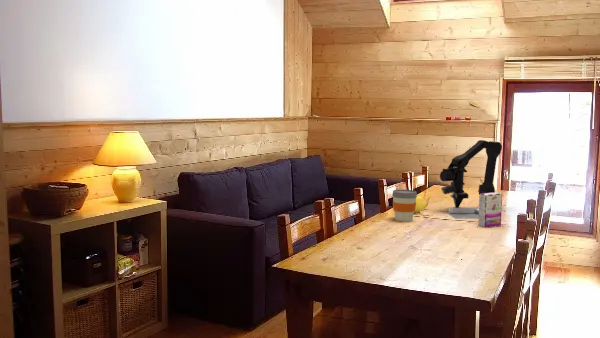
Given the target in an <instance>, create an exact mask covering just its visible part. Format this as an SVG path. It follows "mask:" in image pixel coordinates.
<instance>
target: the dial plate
mask: <svg viewBox="0 0 600 338" xmlns="http://www.w3.org/2000/svg"><path fill="white" fill-rule="evenodd" d="M443 212H444V213H445V214H447V215H449V216H451V217H452V218H454V219H456V220H457V219H458V220H459V219H462V220H463V219H464V220H465V219H466V220H467V219H469V220H471V219H474V220H479V214H478V213H449V210H444V211H443Z"/></svg>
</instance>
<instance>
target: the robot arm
mask: <svg viewBox="0 0 600 338" xmlns="http://www.w3.org/2000/svg"><path fill="white" fill-rule="evenodd" d="M483 149H485V153H486V155H487V158H486V159H487V160H486V163H485V164H486V165H485V171H484V179H483V182H482V184H479V185H478V191H477V192H478V195H479V194H483V193H493V192H496V191H495V190H496V188H495V185H494V178H495V171H496V166H497V159H498V158H499V156H500V155H501V153H502V152H501V151H502V149H503V145H502V143H501V142H499V141H493V140H492V141H490V140H489V141H487V140H483V139H479V140H478V141H476V143H474V144H473V145H472V146H471V147H470V148H468V149H467V150H466V151H465V152H464V153H461V154H458V155H456V156H455V157H453V158H452V159H451V162H450V163H449V165H448V166H447V168H442V171H440V174H439V179H440V181H442V182H450V184H448V185H445V186H442V187H441V191H442V194H444V195H448V194H450V197H451V198H452V200H453V203H454V207H461V206H460V205H461V204H462V202H463V200H464V199H469V193H467V192H465V190H464V186H465V182H464V179H465V178H464V177H465V173H468V170H466V167H467V165H468V164H469V162H470V160H472V159H473V158H474V157H475V156H476V155H477V154H479V153H480V152H481V151H483Z"/></svg>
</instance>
